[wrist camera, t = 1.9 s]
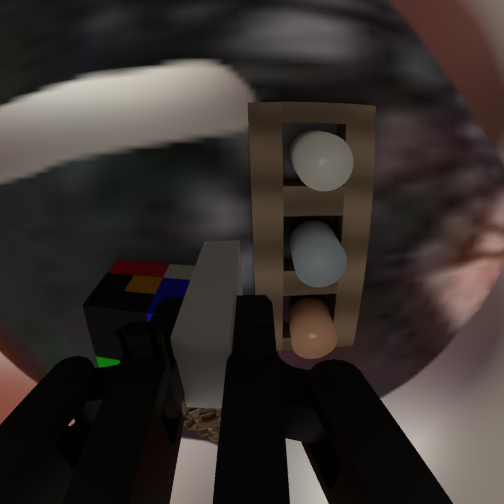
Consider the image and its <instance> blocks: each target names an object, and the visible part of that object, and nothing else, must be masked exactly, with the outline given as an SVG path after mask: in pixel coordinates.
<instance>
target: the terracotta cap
mask: <svg viewBox="0 0 504 504" xmlns="http://www.w3.org/2000/svg"><path fill="white" fill-rule="evenodd" d="M288 322H289V329H290V336H291V342H292V348H293V350H294V352H295V353H296V354H297V355H299V356H301V357H303V358H307V359H315V358H320V357H323V356H325V355H327V354H328V353H330V352H331V351H332V350H333V349H334V347H335V346H336V344H337V339H338V337H337V333H336V330H335V327H334V324H333V321H332V318H331V315H330V312H329V309H328V306H327V305H326V303H325V302H324V301H323V300H321V299H319V298H316V297H305V298H302V299H299V300H298V301H296V302H295V303H294V304H292V306H291V307H290V309H289V311H288Z"/></svg>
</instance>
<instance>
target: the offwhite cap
mask: <svg viewBox="0 0 504 504" xmlns="http://www.w3.org/2000/svg"><path fill="white" fill-rule="evenodd" d="M289 161H290V163H291V166H292V167H293V169H294V170H295V172H296V173H297V174H298V176H299V177H300V179H301V180H302V181H303V183H304V184H306V185H307V186H308V187H310V188H312V189H314V190H317V191H332V190H335V189H337V188H339V187H340V186H342V185H343V184H344V183H345V182H346V181H347V180H348V178H349V177H350V175H351V173H352V170H353V163H354V162H353V155H352V151H351V149H350V147H349V146H348V144H347V143H346V142H345V141H344V140H343V139H341V138H340V137H338V136H336V135H334V134H331V133H327V132H324V131H321V130H315V129H311V130H306V131H303V132H301V133H300V134H298V135H297V136H296V137H295V138H294V139H293V141H292V142H291V144H290V147H289Z"/></svg>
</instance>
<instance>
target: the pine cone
mask: <svg viewBox="0 0 504 504" xmlns="http://www.w3.org/2000/svg"><path fill="white" fill-rule="evenodd" d="M221 410H222V408H193V407H187V406H186V402H185V398H184V400H183V404H182V411H183V415H184V425H185V426H187V430H188V431H189V430H191V429H193V430H197V431H198V434H199V435H200V436H205V435H208V437H209V438H210V439H211V440H212V441H215V442H217V441H218V440H219V430H220V420H221Z"/></svg>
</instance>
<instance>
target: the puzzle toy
mask: <svg viewBox="0 0 504 504" xmlns="http://www.w3.org/2000/svg"><path fill="white" fill-rule="evenodd" d="M194 269H195V266H191V265H177V264H163V263H150V262H137V261H124V260H117V261H116V262H115V263H114V265H113V266H112V267H111V268H110V270H109V271H108V272H107V274H106V275H105V276H104V277H103V279H102V280H101V281H100V283H99V284H98V285H97V287H96V288H95V289H94V291H93V292H92V293H91V295H90V296H89V297H88V299H87V300H86V301H85V303H84V304H83V309H84V313H85V317H86V321H87V325H88V329H89V333H90V337H91V341H92V344H93V348H94V351H95V355H96V358H97V361H98V365H99V368H100V367H106V366H112V365H117V364H119V362H120V360H121V356H120V353H119V350H118V347H117V344H116V341H115V338H114V335H113V334H114V333H115V332H116V331H117V330H118V329H119V328H120V327H122V326H123V325H125V324H128V323H131V322H134V321H149V322H150V319H151V316H152V315H153V312H154V310H155V308H156V306H157V304H158V303H160V302H161V301H162V300H163V299H164V298H165V297H185V294H186V291H187V288H188V286H189V283H190V280H191V277H192V274H193V272H194Z"/></svg>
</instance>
